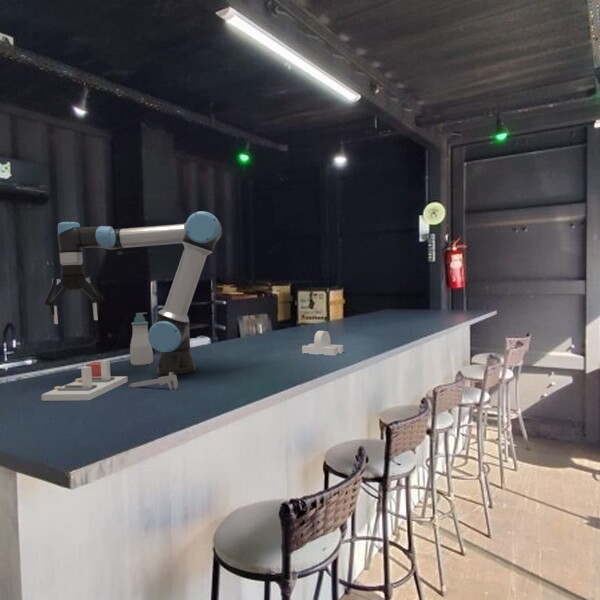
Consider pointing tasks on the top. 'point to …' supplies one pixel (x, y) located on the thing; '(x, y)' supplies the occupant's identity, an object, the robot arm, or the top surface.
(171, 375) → the caliper
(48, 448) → the top surface
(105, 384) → the panel
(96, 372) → the brick-red cube
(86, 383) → the post
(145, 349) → the soap bottle
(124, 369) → the top surface
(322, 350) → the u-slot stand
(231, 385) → the top surface
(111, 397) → the top surface
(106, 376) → the block
